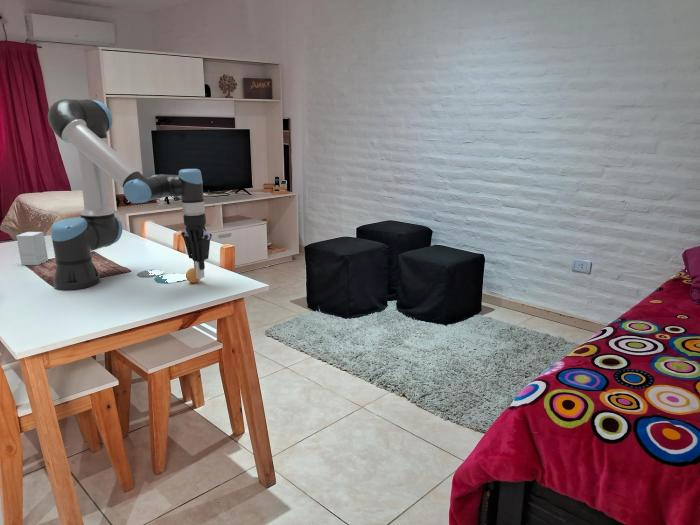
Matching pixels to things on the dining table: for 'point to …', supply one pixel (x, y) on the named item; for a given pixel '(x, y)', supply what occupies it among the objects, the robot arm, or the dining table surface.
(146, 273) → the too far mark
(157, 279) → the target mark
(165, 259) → the dining table surface
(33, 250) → the supplement box
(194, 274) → the ball
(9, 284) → the dining table surface
